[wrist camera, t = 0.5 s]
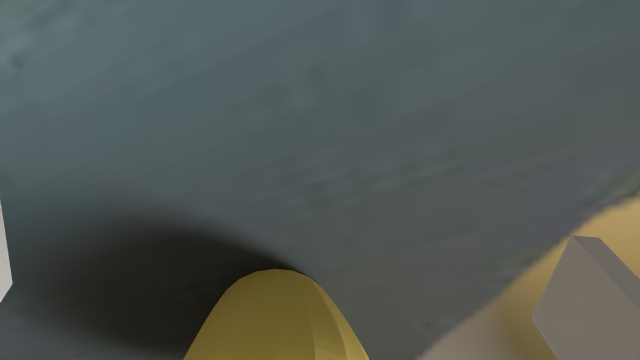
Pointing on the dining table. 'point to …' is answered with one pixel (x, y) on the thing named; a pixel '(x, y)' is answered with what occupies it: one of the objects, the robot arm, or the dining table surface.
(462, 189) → the dining table surface
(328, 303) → the vase
